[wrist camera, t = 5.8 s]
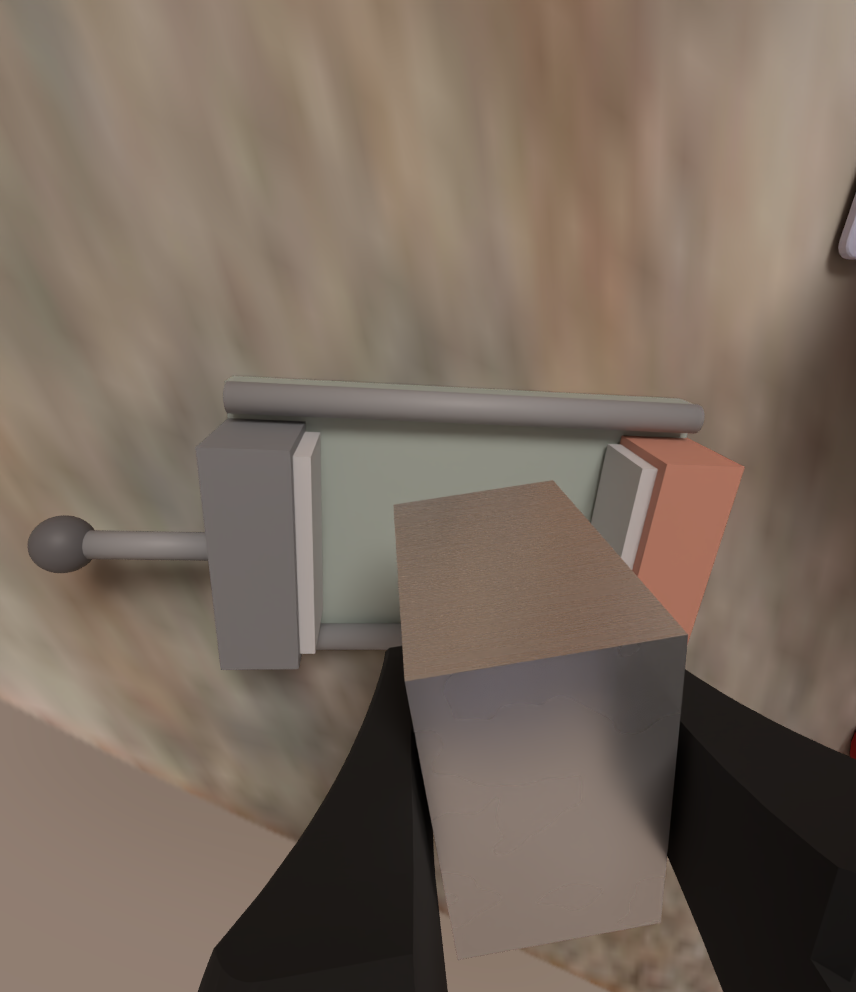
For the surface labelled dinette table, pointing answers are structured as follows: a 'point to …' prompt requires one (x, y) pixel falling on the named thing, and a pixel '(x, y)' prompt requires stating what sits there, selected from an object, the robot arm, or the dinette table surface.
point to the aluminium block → (538, 716)
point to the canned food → (853, 747)
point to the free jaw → (666, 515)
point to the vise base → (353, 497)
